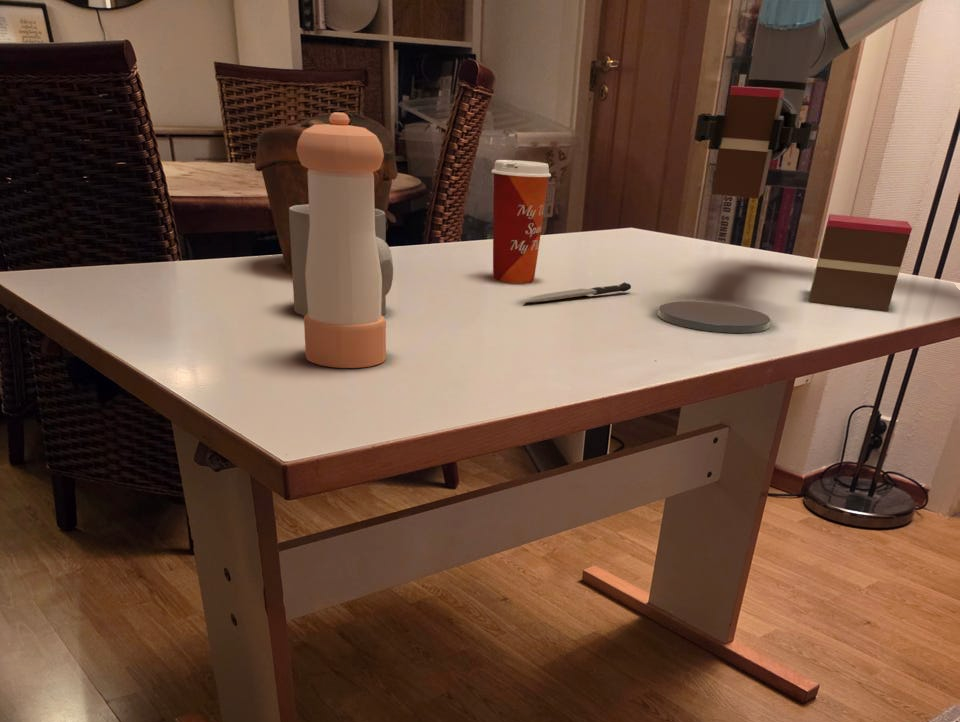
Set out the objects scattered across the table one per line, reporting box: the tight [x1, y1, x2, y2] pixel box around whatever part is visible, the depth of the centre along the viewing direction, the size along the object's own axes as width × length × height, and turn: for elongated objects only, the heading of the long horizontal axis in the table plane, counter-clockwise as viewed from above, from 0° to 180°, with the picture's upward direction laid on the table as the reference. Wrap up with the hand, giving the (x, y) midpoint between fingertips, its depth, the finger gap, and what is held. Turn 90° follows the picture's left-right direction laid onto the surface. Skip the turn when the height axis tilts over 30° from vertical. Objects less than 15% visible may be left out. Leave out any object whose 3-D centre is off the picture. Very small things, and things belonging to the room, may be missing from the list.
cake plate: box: [657, 300, 771, 334], centre depth 102 cm, size 13×13×1 cm
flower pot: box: [254, 112, 399, 272], centre depth 111 cm, size 18×20×18 cm
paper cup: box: [490, 159, 552, 284], centre depth 113 cm, size 8×8×14 cm
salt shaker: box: [296, 111, 387, 369], centre depth 74 cm, size 7×7×19 cm
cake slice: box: [711, 85, 785, 200], centre depth 94 cm, size 5×8×10 cm, turn 160°
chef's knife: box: [523, 281, 632, 303], centre depth 109 cm, size 19×1×3 cm
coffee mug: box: [289, 204, 394, 317], centre depth 91 cm, size 13×10×10 cm
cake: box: [808, 213, 913, 312], centre depth 115 cm, size 10×8×10 cm
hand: (746, 132), depth 89 cm, fingers closed on cake slice, 5 cm apart
